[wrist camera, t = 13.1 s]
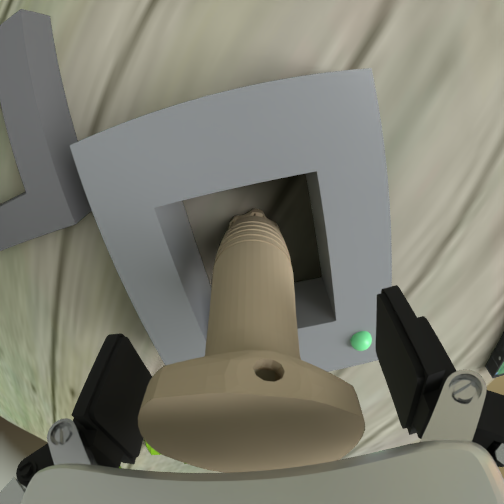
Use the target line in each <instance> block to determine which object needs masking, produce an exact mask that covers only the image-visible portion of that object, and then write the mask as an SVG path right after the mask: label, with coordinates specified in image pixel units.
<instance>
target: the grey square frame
mask: <svg viewBox="0 0 504 504" xmlns="http://www.w3.org/2000/svg"><path fill="white" fill-rule="evenodd" d="M0 103H1V107H2V112H3V116H4V120H5V125H6V129H7V132H8V136H9V140H10V144H11V147H12V151H13V154H14V157H15V161H16V164H17V167H18V170H19V173H20V176H21V179H22V182H23V185H24V188H25V191H26V192H24V193H22V194H20V195H18V196H16V197H14V198H12V199H10V200H8V201H6V202H4V203H2V204H0V251H2V250H4V249H7V248H9V247H12V246H15V245H17V244H20V243H23V242H26V241H28V240H31V239H34V238H37V237H39V236H42V235H45V234H48V233H51V232H54V231H57V230H60V229H63V228H66V227H69V226H72V225H75V224H76V223H78V222H79V221H80V220H81V219H82V218H84V217H85V216H86V215H87V214H88V213H90V212H91V211H92V210H91V207H90V204H89V202H88V199H87V196H86V193H85V191H84V188H83V185H82V182H81V179H80V176H79V173H78V170H77V167H76V164H75V161H74V158H73V155H72V152H71V148H70V145H72V144H74V143H76V142H78V141H77V137H76V134H75V130H74V127H73V123H72V120H71V116H70V112H69V108H68V105H67V101H66V97H65V92H64V88H63V84H62V80H61V75H60V70H59V66H58V61H57V56H56V51H55V45H54V39H53V33H52V27H51V21H50V16H48V15H44V14H40V13H36V12H32V11H27V10H23V9H20V10H19V11H18V12H16V13H15V14H14V15H12V16H11V17H10V18H9V19H7V20H6V21H5V22H3V23H2V24H1V25H0Z"/></svg>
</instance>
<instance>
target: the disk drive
mask: <svg viewBox="0 0 504 504" xmlns="http://www.w3.org/2000/svg"><path fill="white" fill-rule="evenodd" d="M485 367H486V368H487V370H488V372H489V373H490V375H491V376H492V378H496V377H499V376H502V375H504V332H503V334H502V336H501V338H500V340H499V342H498V344H497V346H496V348H495V349H494V351H493V353H492V355H491V357H490V359H489V361H488V362H487V364H486V366H485Z"/></svg>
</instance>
